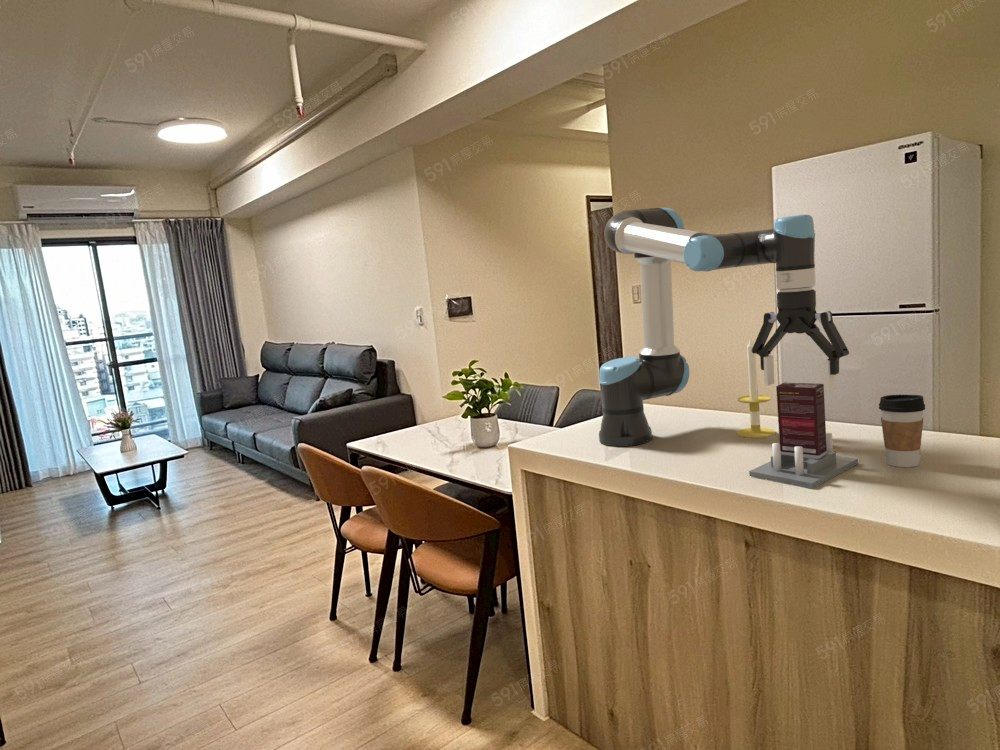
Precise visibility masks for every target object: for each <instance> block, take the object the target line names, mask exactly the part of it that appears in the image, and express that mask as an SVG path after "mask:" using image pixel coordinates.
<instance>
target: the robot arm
mask: <svg viewBox="0 0 1000 750" xmlns="http://www.w3.org/2000/svg"><path fill="white" fill-rule="evenodd" d="M684 225H685V224H684V221H683V218H682V217H681V215H680V214H679V213H678V212H677V211H676V210H674V209H673V208H670V207H653V208H652V207H651V208H639V209H626V210H621V211H619V212H617V213H615V214H614V215H612V216H611V217H610V218H609V220H608V221H607V222H606V225H605V227H604V233H603V235H604V240H605V243H606V245H607V247H608V248H610V249H611V250H612V251H614V252H616V253H619V254H623V255H633V257H634V258H633V259H634V260H635V261H636V262H637V263H639V268H640V269H639V270H640V289H641V290H640V291H641V292H640V293H641V294H640V295H641V307H642V308H641V310H642V311H641V312H642V313H641V315H642V329H643V332H642V333H643V347H642V348H641V349H640V350H639V351H638V357H637V356H624V357H619V358H615V359H611V360H608V361H606V362H604V363H603V364H601V366H600V368H599V379H598V382H599V386H600V395H601V396H600V397H601V407H602V419H601V424H600V430H599V432H598V441H599V443H601V444H603V445H607V446H612V447H628V446H636V445H641V444H645V443H648V442H649V441H651V440H652V439H653V433H652V432H653V431H652V428H651V427H650V426H649V422H648V419H647V417H646V414H645V411H644V410H645V409H644V401H646V400H650V399H655V398H660V397H669V396H671V395H674V394H678V393H680V392H681V391H683V390H684V388H685V387H687V384H688V383H689V379H690V366H689V364H688V362H687V359H686V357H684V355H682V354H681V350H680V349H679V348H678V347H677V346H676V345H675V331H674V330H675V328H674V307H673V306H674V305H673V304H674V303H673V302H674V301H673V282H672V281H673V280H672V279H673V278H672V261H673V262H676V263H681V264H685V265H686V266H687V267H688V269H689V270H690V271H693V272H710V271H715V270H724V269H730V268H732V269H733V268H741V267H749V266H750V267H751V266H756V265H758V266H759V265H766V264H775V279H776V282H775V283H776V289H777V290H779V292H777V293H776V308H777V311H778V312H777V313H775V312H774V311H771V312H765V313H764V315H763V321H762V325H761V328H760V330H759V332H758V335H757V337H756V339H755V342H754V343H753V344H754V346H753V348H752V353H756V355H758V356H759V357H760V358H759V359H760V369H761V371H763V379H764V380H763V381H764V386H771V385H774V384H775V369H774V367H775V366H774V355H771V354H772V352H773V350H774V349H775V348H776V347H777V345H778V344H779V342H780V341H781V340H782V339H783V338H784V337H785V335H786V334H794V333H796V334H805V335H807V336H808V337H810V338H811V340H812V341H814V343H815V344H816V346H818V348H819V349H820V350H821V351H822V353H824V355H825V356H826V357H827V359H824V392H825V391H826V392H831V391H832V390H835V389H836V375H838V374H839V373H840V359H841V358H843V357H846V356H848V355H849V354H850V351H849V349H848V346H847V344H846V343H845V342H844V340H843V337H842V336H841V334H840V332H839V330H838V328H837V327H836V325H835V323H834V321H833V320H834V319H833V313H832V311H830V310H827V311H823V312H817V311H816V307H817V292H816V290H815V289H813V288H814V287H816V285H817V284H816V268H815V267H816V264H815V263H816V262H815V259H816V258H815V246H816V245H815V241H816V240H815V239H816V232H815V224H814V218H813V216H812V215H811V214H810V215H809V214H798V215H791V216H783V217H778V218H776V219H775V221H774V226H773V228H770V229H762V230H761V229H760V230H754V231H753V230H751V231H744V232H743V231H742V232H731V233H720V234H715V233H708V232H707V233H706V232H700V231H694V230H689V229H685V226H684ZM817 321H818V322H819V323H821V326H822V328H823V331H824V332H825V334H826V336H827V337H826V336H825V335H824V334H823V333H822V331H820V330H821V329H820V328H819V327H818V326H817V324H816V322H817ZM776 322H778V324H779V326H778V327H777V328H776V329H775V332H774V333H773V334H772V336H771V337H770V338H769V336H770V335H771V334H770V333H771V331H772V329H773V326H774V323H776ZM768 338H769V340H768ZM827 338H828V339H827ZM767 340H768V341H767Z"/></svg>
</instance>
